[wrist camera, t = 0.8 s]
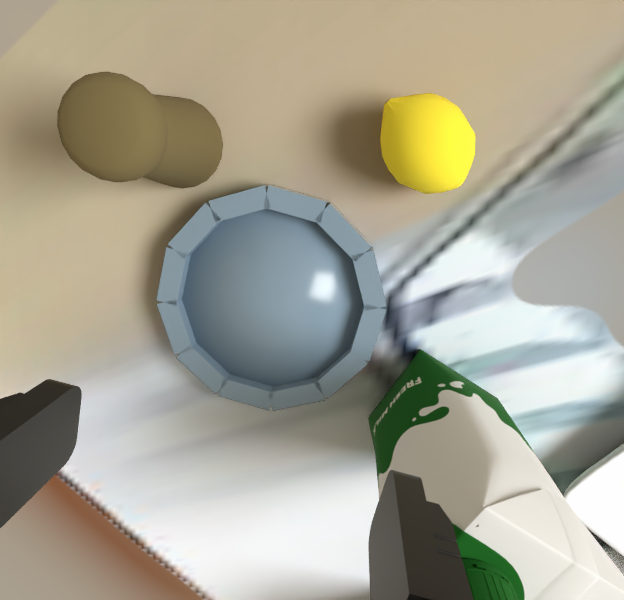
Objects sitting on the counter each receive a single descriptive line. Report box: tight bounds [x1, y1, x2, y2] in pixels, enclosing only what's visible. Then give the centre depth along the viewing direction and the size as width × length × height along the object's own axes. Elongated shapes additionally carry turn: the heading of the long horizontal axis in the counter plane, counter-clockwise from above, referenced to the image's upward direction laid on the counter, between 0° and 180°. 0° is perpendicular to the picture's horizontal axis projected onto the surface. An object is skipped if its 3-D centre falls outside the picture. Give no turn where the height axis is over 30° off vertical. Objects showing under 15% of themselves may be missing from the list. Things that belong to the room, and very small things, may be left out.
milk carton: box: [368, 349, 624, 600], centre depth 26 cm, size 9×9×20 cm
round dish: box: [157, 185, 386, 411], centre depth 34 cm, size 16×16×2 cm
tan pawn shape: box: [57, 72, 223, 188], centre depth 27 cm, size 6×6×11 cm
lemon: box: [380, 93, 475, 194], centre depth 28 cm, size 7×5×5 cm
